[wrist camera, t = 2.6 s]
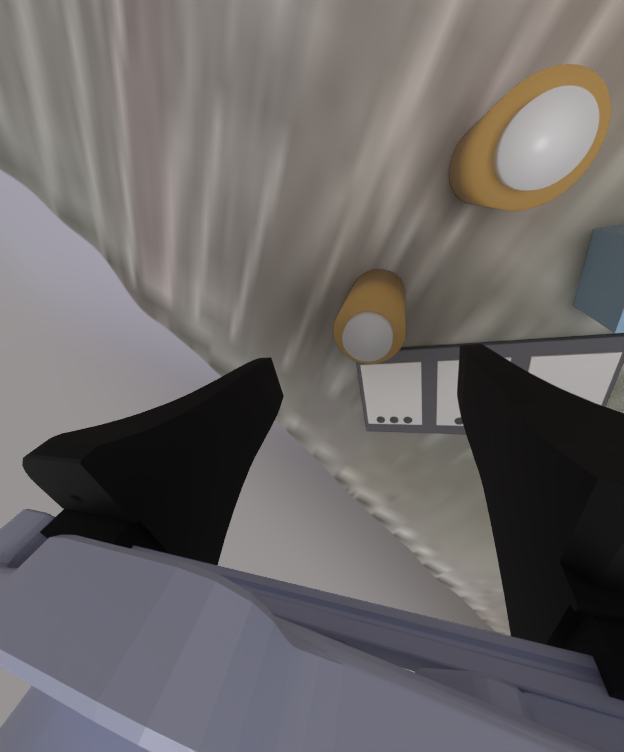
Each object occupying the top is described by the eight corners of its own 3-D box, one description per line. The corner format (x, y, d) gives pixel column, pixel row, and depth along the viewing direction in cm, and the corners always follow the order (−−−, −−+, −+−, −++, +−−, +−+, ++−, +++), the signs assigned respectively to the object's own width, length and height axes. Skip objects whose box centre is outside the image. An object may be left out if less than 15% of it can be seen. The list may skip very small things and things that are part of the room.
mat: (589, 434, 20) (593, 439, 19) (367, 428, 25) (366, 432, 25) (629, 332, 16) (636, 337, 15) (355, 351, 21) (354, 354, 21)
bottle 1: (406, 319, 19) (407, 370, 14) (354, 324, 20) (336, 373, 15) (404, 264, 17) (404, 298, 12) (347, 273, 18) (324, 308, 13)
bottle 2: (526, 195, 14) (605, 196, 8) (447, 212, 15) (472, 223, 10) (540, 100, 12) (652, 25, 7) (450, 128, 13) (483, 83, 8)
